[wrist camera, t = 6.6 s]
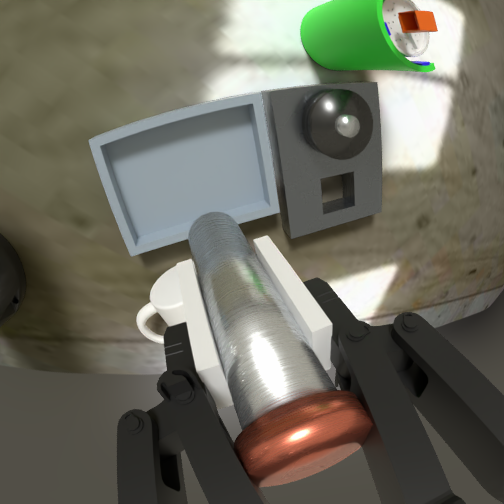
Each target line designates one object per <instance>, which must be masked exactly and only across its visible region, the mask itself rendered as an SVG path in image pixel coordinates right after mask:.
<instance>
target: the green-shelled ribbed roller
mask: <svg viewBox="0 0 504 504" xmlns="http://www.w3.org/2000/svg"><path fill="white" fill-rule="evenodd" d="M436 31H438V30H437V26H436V22H435V19H434V15H433V12H429V11H421V10H420V9H419V8H418V7H417V6H416V5H415V4H414V3H413V2H412V1H411V0H332V1H330V2H327V3H325V4H322V5H320V6H318V7H315V8H313V9H312V10H310V11H309V12H308V13H307V14H306V15H305V17H304V18H303V21H302V24H301V39H302V43H303V45H304V48H305V49H306V51H307V53H308V54H309V55H310V57H311V58H312V59H313V60H314V61H315V62H317V63H318V64H319V65H321V66H323V67H325V68H327V69H330V70H335V71H343V70H398V71H416V72H430V71H433V70H435V66H434V63H430V62H419V61H409V60H408V59H407V58H405V57H417V56H420V55H422V54H423V53H424V52H425V51H426V49H427V47H428V44H429V32H436Z"/></svg>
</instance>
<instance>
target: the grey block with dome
mask: <svg viewBox="0 0 504 504" xmlns="http://www.w3.org/2000/svg"><path fill="white" fill-rule="evenodd" d="M261 93H262V99H263V105H264V110H265V116H266V122H267V128H268V134H269V140H270V146H271V152H272V159H273V165H274V172H275V178H276V185H277V192H278V198H279V205H280V212H281V219H282V227H283V230H284V231H285V232H286V233H287V234H288V236H289V237H290V238H291V239H293V238H296V237H300V236H303V235H306V234H310V233H313V232H316V231H320V230H323V229H326V228H330V227H333V226H336V225H340V224H343V223H346V222H350V221H353V220H356V219H360V218H363V217H366V216H370V215H373V214H376V213H380V212H381V207H382V146H381V124H380V109H379V96H378V86H377V82H341V83H326V84H315V85H304V86H295V87H287V88H280V89H273V90H266V91H261ZM340 174H342V182H343V198H341V199H337V200H333V201H329V202H326V203H322V191H321V179H322V178H326V177H331V176H335V175H340Z"/></svg>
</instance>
